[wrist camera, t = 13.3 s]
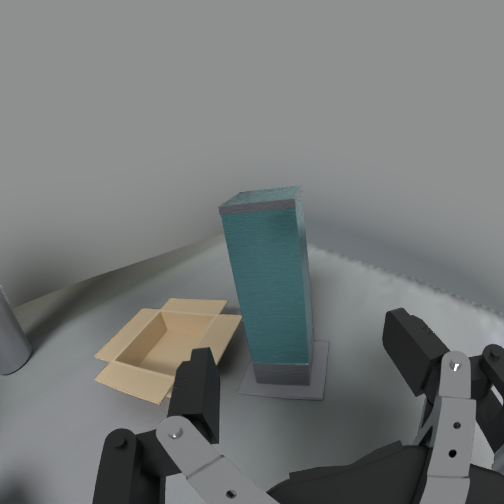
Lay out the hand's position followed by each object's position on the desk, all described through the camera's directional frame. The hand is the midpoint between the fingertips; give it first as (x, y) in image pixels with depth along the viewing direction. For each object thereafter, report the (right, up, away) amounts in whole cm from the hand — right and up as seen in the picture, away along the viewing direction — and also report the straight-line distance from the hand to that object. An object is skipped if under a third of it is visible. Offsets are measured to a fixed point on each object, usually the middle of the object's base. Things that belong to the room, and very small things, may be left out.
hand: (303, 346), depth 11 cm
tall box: (+1, -7, +14) cm, 16 cm away
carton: (-11, -9, +18) cm, 23 cm away
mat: (+1, -8, +15) cm, 17 cm away
